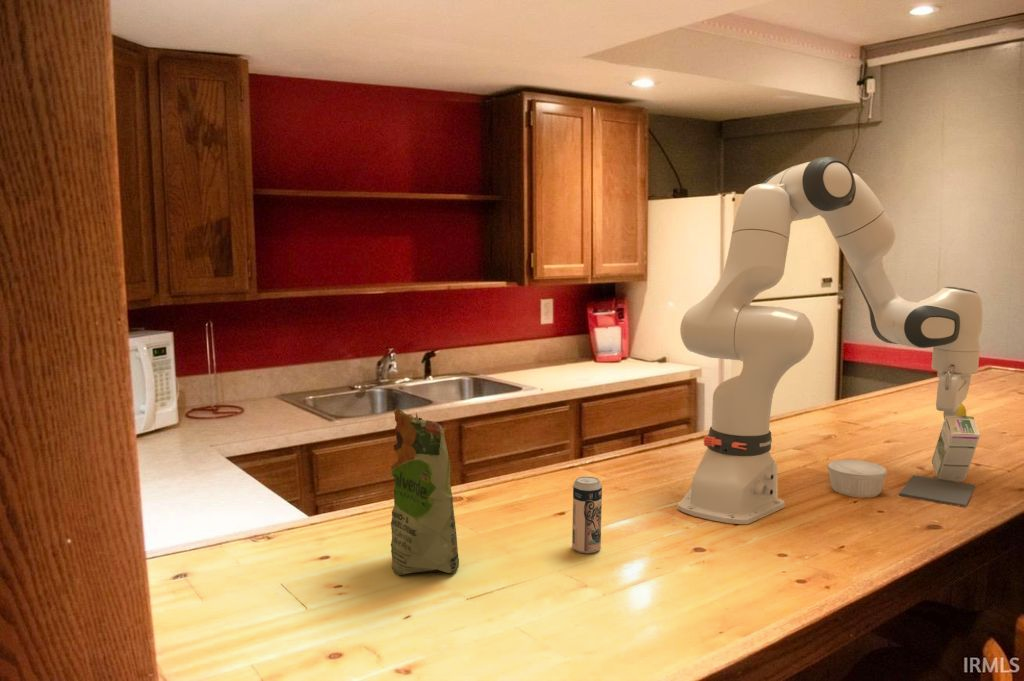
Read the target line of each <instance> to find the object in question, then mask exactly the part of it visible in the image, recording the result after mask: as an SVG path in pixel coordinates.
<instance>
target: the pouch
mask: <svg viewBox="0 0 1024 681" xmlns="http://www.w3.org/2000/svg"><path fill="white" fill-rule="evenodd" d="M393 414H394V421H395V422H396V425H395V427H394V430H395V437H396V443H395V444H393V446H392V447H393V451H394V452H395V453H396V454H397V461H394V462H393V463H391V466H390V468H391V469H390V470H391V473H390V474H391V476H392V477H393V479H394V486H393V487H394V488H393V497H394V500H393V501H394V503H393V507H392V508H393V509H392V510H391V522H390V527H391V529H390V530H391V541H390V542H391V543H390V547H391V550H390V552H391V569H392V571H393V572H394V573H396V574H397V575H398V576H402V575H409V574H412V573H414V574H415V573H428V572H430V573H431V572H442V573H446V574H447V573H448V574H454V573H455V572H456V571H457V570H458V568H459V566H460V559H459V551H458V537H457V528H456V518H455V509H454V502H453V501H454V496H453V494H452V486H451V471H452V470H451V461H450V457H449V451H448V447H447V446H448V445H447V442H446V438H445V432H446V430H444V429H443V426H442V424H440V423H438V422H436V421H434V420H429V419H426V420H425V419H423V418H422V417H419V416H418V413H417V412H416V413H415V417H414V416H413V415H412V414H411V413H410V414H408V413H406V412H404V411H403V410H402V409H401V408H400V407H397V408H395V409H394V411H393Z"/></svg>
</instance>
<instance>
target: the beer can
mask: <svg viewBox="0 0 1024 681" xmlns="http://www.w3.org/2000/svg"><path fill="white" fill-rule="evenodd" d="M572 488H573V490H572V531H571V533H572V534H571V547H572V549H573V550H574V551H576V552H577V553H580V554H586V555H587V554H590V555H591V554H594V553H596V552H598V551H599V550H601V547H602V546H601V545H602V538H601V537H602V508H603V507H602V506H603V504H602V503H603V502H602V501H603V499H602V498H603V486H602V484H601V481H600V479H599V477H594V476H579V477H576V478H575V481H574V482H573V483H572Z"/></svg>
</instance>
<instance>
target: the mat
mask: <svg viewBox="0 0 1024 681" xmlns="http://www.w3.org/2000/svg"><path fill="white" fill-rule="evenodd" d="M974 488H975V489H976V484H971V483H966V482H965V483H964V482H959V481H948V480H942V479H937V478H936V477H929V476H923V475H917V474H912V475H911V477H910V478H909V480H908V481H907V482H906V483H905V484H904V486H903V487H902V489H901V490H900V491H899V494H898V496H900V497H905V498H910V499H916V500H923V501H927V502H933V503H938V502H939V503H940V504H944V503H946V504H945V505H950V504H952V505H951V506H955V505H960V506H959V507H961V506H967V507H968V504H969V502H970V500H971V498H972V496H973V493H974V491H975V489H974ZM971 495H972V496H971ZM970 497H971V498H970ZM969 499H970V500H969ZM939 503H938V504H939Z"/></svg>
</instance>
